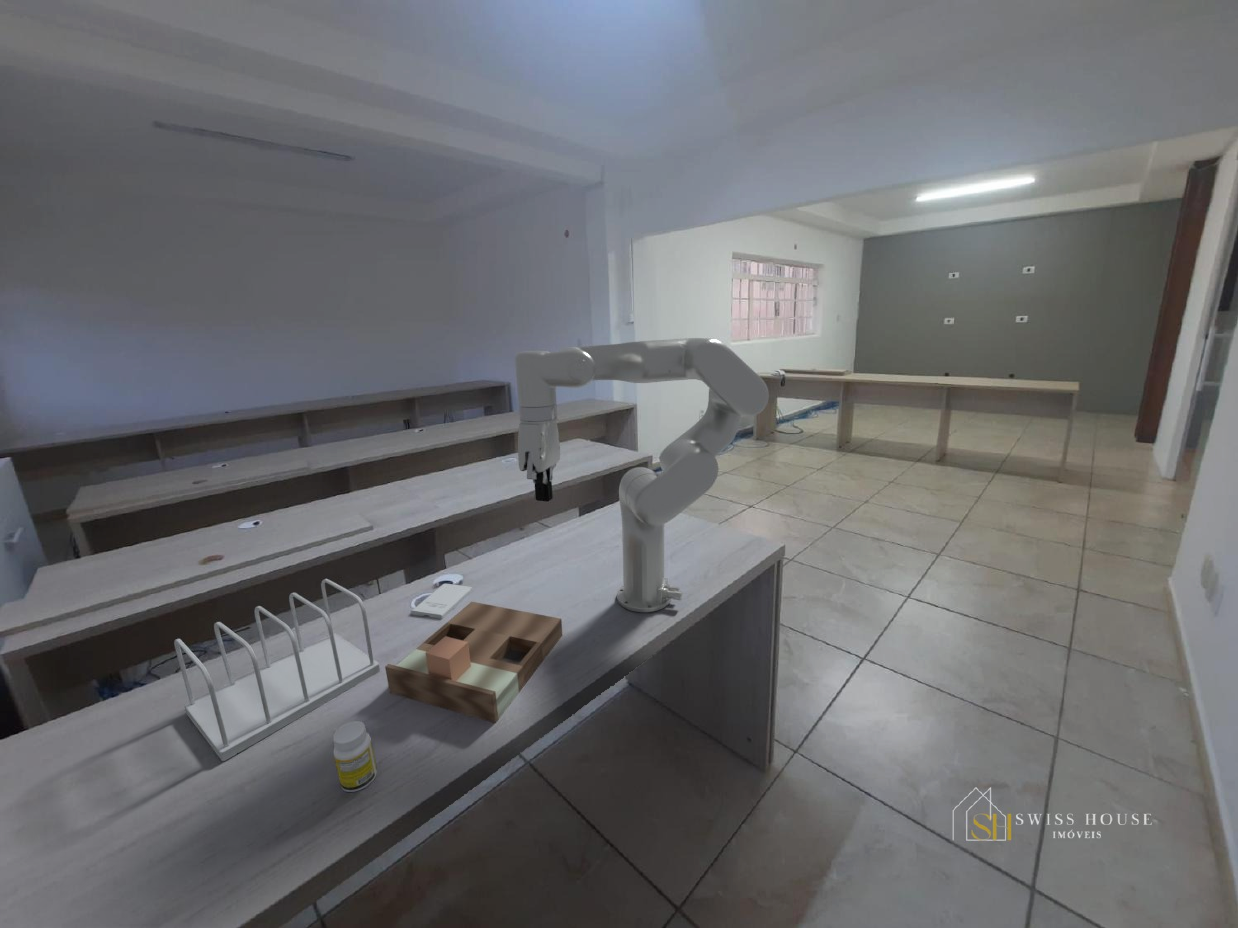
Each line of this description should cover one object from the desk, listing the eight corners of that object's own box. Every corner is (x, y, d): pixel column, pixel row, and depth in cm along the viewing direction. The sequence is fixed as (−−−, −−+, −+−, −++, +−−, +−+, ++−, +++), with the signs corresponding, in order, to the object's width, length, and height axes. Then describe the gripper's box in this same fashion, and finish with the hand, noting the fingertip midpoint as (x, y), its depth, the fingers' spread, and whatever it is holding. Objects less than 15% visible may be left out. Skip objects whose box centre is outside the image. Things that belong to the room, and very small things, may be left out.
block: (471, 666, 89) (468, 641, 87) (452, 684, 84) (448, 659, 83) (448, 659, 90) (445, 636, 89) (429, 677, 86) (425, 652, 85)
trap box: (562, 635, 103) (560, 612, 102) (495, 722, 81) (492, 694, 79) (473, 617, 111) (470, 595, 109) (389, 692, 88) (385, 666, 87)
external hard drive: (472, 592, 122) (442, 620, 111) (443, 588, 124) (411, 616, 113) (472, 586, 122) (441, 614, 110) (443, 582, 124) (410, 609, 112)
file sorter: (223, 763, 75) (196, 676, 70) (186, 715, 84) (161, 635, 80) (381, 671, 94) (368, 598, 90) (336, 640, 104) (322, 573, 100)
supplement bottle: (349, 765, 74) (339, 719, 71) (382, 762, 74) (373, 716, 72) (334, 795, 69) (323, 746, 67) (369, 791, 69) (359, 743, 67)
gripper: (539, 407, 107) (545, 487, 112) (501, 419, 94) (509, 510, 99) (571, 408, 105) (575, 490, 110) (536, 421, 91) (543, 514, 96)
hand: (544, 499), depth 104 cm, fingers closed
